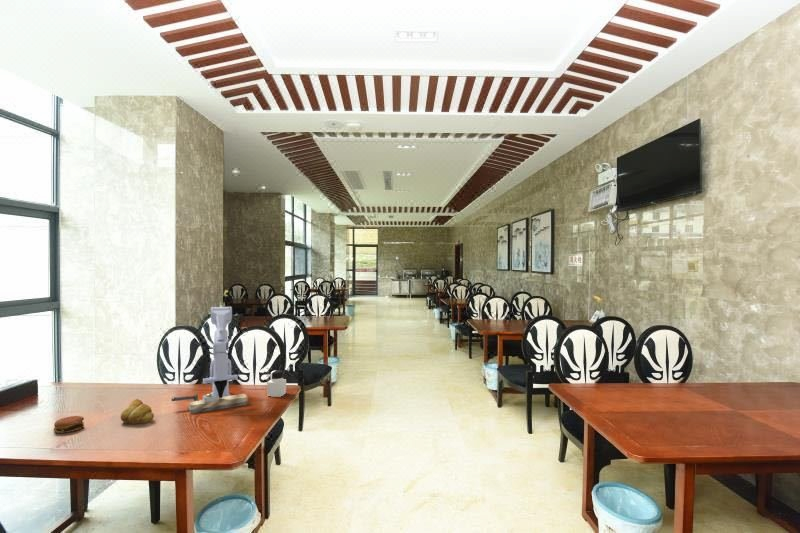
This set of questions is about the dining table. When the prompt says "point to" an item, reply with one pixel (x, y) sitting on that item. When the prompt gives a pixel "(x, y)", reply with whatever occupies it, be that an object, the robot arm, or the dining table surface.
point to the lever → (185, 398)
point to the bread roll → (137, 413)
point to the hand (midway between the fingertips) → (220, 397)
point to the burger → (68, 424)
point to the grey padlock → (276, 384)
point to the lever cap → (210, 398)
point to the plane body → (218, 403)
